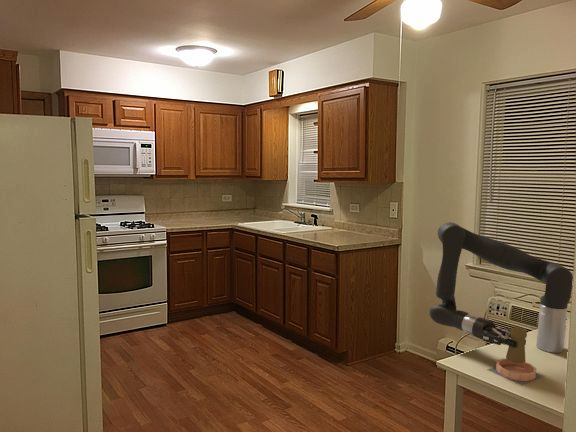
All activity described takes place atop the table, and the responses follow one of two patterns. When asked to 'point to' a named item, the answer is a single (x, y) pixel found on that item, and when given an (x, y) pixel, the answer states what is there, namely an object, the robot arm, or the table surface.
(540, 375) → the mat
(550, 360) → the table surface
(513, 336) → the pepper mill
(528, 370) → the bowl
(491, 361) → the table surface
